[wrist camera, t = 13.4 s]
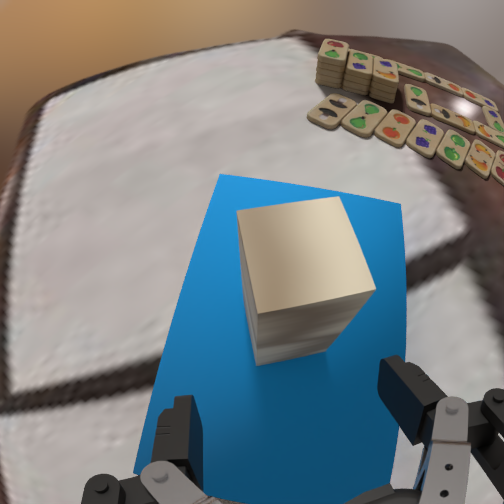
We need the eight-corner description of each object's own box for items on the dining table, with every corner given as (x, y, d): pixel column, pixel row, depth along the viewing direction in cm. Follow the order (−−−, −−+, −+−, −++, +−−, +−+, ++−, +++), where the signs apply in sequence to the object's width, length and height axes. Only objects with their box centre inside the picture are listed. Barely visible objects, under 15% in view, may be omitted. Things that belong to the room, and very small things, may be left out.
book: (132, 476, 16) (216, 170, 28) (152, 468, 20) (220, 201, 32) (393, 511, 14) (406, 200, 26) (373, 499, 18) (391, 227, 30)
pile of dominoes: (298, 126, 38) (302, 89, 33) (327, 49, 51) (330, 24, 46) (529, 205, 32) (549, 181, 27) (492, 105, 45) (501, 84, 40)
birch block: (308, 289, 23) (339, 196, 14) (325, 351, 20) (376, 288, 12) (243, 301, 22) (236, 210, 14) (256, 366, 20) (257, 313, 11)
